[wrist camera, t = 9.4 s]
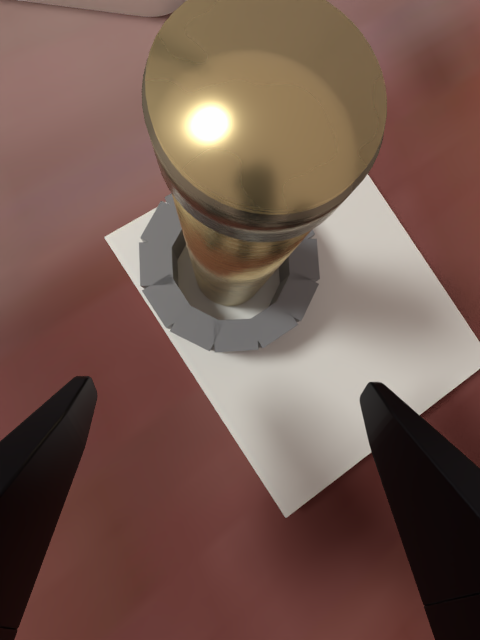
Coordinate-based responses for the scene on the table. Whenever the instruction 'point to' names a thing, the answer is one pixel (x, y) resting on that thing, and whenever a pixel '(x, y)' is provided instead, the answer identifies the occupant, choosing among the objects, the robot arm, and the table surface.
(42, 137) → the table surface
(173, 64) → the brass pin
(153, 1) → the computer
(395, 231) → the nut plate
